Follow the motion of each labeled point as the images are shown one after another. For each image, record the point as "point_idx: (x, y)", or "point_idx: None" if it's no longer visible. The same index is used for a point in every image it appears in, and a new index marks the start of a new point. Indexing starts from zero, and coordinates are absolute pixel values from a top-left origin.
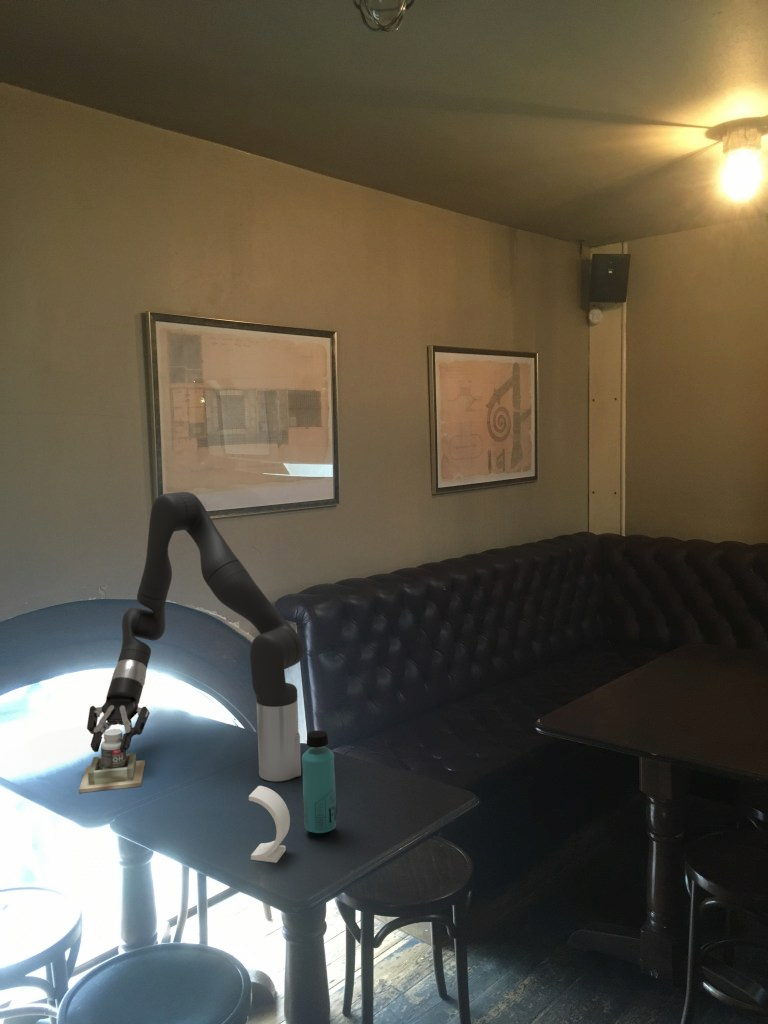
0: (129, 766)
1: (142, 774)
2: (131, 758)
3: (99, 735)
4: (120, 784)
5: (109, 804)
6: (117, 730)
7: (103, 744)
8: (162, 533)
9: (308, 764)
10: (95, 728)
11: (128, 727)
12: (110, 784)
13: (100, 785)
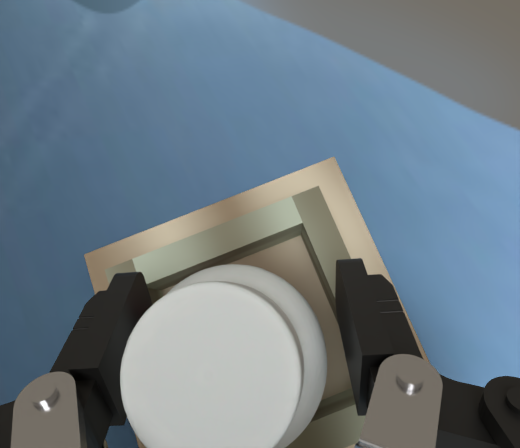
0: None
1: None
2: None
3: (358, 363)
4: (169, 225)
5: (156, 89)
6: (181, 425)
7: (279, 288)
8: None
9: None
10: (431, 394)
11: (28, 427)
12: (215, 220)
13: (257, 205)
